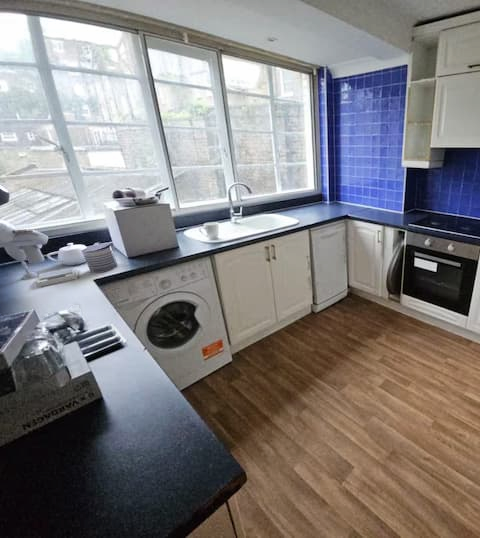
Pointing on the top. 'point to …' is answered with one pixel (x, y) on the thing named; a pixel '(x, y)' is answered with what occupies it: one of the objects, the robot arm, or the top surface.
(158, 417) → the top surface
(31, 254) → the beverage can
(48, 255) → the teapot
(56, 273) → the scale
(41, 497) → the top surface
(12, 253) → the chalice
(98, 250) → the grey ribbed cylinder
